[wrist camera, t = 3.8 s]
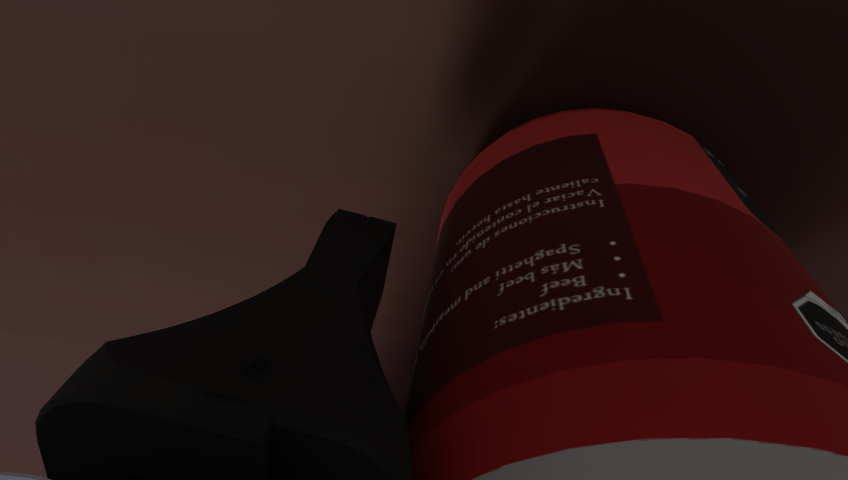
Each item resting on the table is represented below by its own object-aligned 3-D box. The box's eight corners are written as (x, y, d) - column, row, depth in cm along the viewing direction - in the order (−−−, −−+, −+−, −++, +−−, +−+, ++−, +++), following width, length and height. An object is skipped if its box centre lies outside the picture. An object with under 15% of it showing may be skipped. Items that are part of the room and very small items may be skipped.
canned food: (687, 349, 18) (881, 846, 9) (432, 318, 19) (362, 755, 9) (782, 113, 14) (1332, 574, 5) (452, 82, 15) (364, 442, 5)
